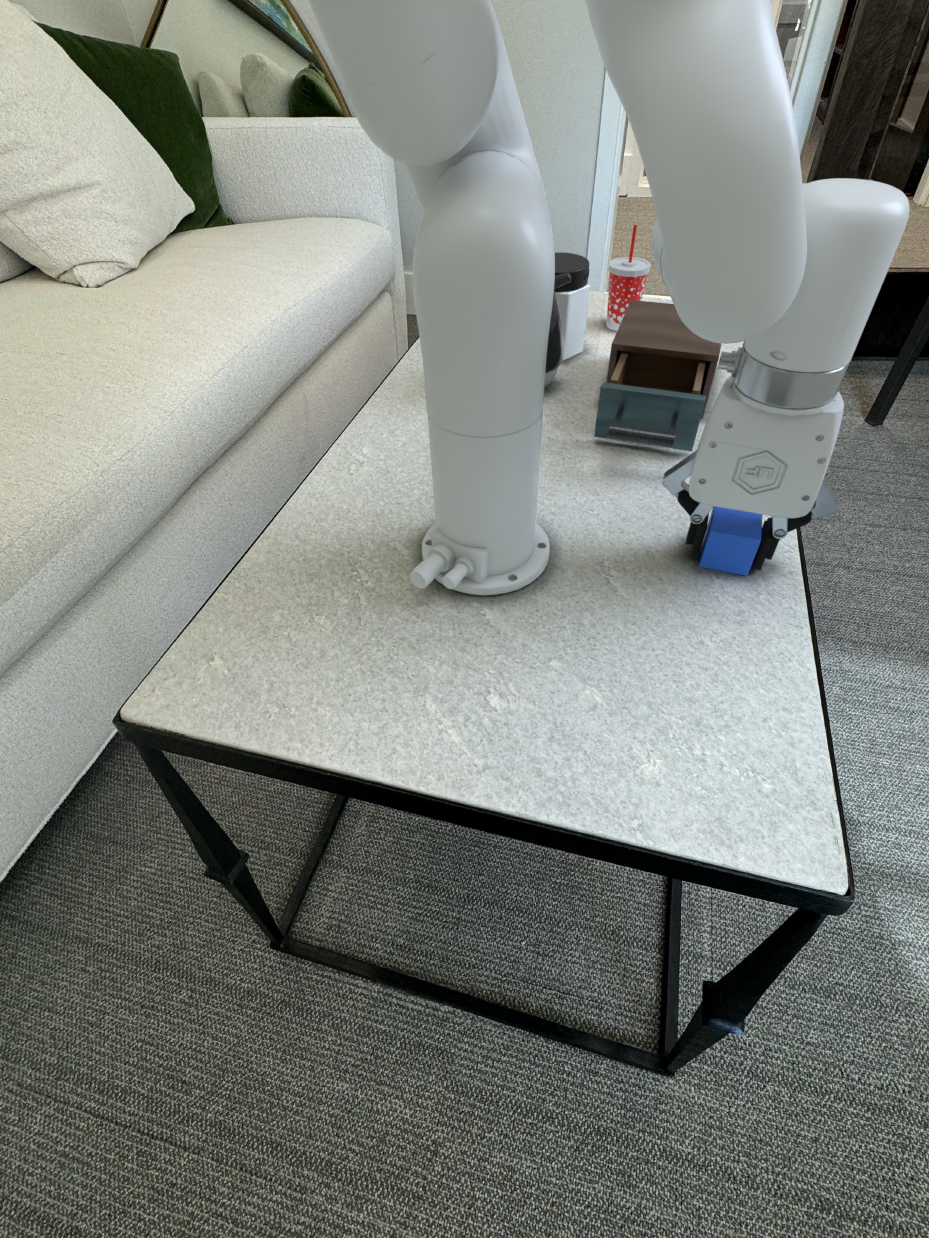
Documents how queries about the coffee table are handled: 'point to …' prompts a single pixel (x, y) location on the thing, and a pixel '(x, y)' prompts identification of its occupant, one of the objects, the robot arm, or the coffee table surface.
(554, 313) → the pump dispenser
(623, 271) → the beverage cup
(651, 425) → the drawer
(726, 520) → the blue block
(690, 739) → the coffee table surface
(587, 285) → the jar
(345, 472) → the coffee table surface
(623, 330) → the cabinet
